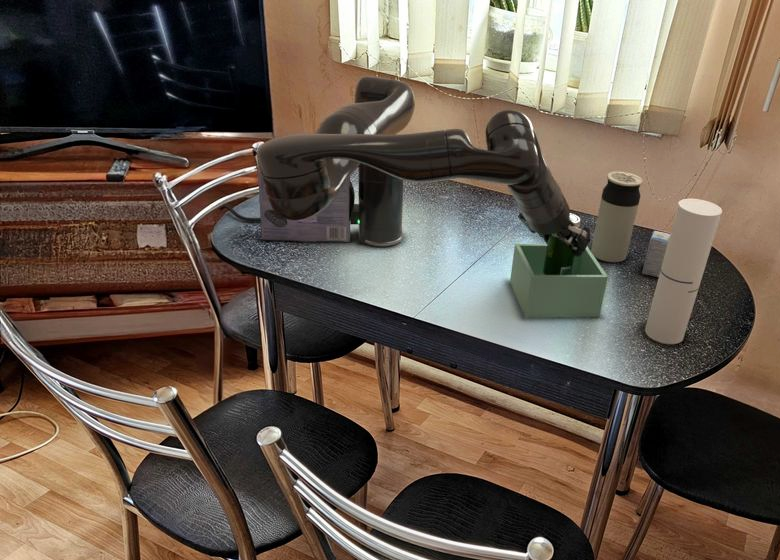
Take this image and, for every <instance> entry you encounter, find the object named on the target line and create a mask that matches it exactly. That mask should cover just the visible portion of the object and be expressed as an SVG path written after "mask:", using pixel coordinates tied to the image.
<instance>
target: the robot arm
mask: <svg viewBox="0 0 780 560" xmlns="http://www.w3.org/2000/svg"><path fill="white" fill-rule="evenodd" d="M415 107H416V98H415V93H414V91H413V89H412V87H411V86H410V84H408V83H406V82H404V81H402V80H398V79H394V78H393V79H392V78H387V77H379V76H373V75H364V76H362V77H360V79H359V80H358V81H357V84H356V86H355V91H354V103H350V104H345V105H344V106H341V107H339V108H337V109H335V110H334V111H333V112H332V113H329V115H327V116H326V117H325V118H323V120H322V121H321V122H320V123H319V125H318V127H317V128H316V131H315V133H296V134H287V135H282V136H277V137H273V138H270V139H269V140H267V141H264V142H263V143H261V144H260V145H259V146H258V148H257V149H256V161H257V160H258V164H259V168H260V171H261V175H262V179H263V182H264V186H265V189H266V193H267V197H268V200H269V203H270V205H271V207H272V208H273V210H274V212H275V213H276V214H277V215H278V216H280V217H282V218H284V219H287V220H302V219H306V218H309V217H312V216H314V215H316V214H318V213H319V212H321V211H322V210H324V209H325V208H326V207H327V206H329V205H330V203H331V202H332V201H333V200H334V198H335V197H336V195H337V194H338V192H339V191H340V189H341V188H342V186H343V185H344V183H345V182H346V180H347V179H348V178H349V177H350V178H351V176H352V175H353V173H354V172H355V171H356V170H357V169H358V171H357V172H358V173H357V174H358V191H357V199H358V200H357V202H358V203H354V209H353V212H352V215H351V217H350V226H351V225H355V226H356V225H358V240H359V244H365V245H368V246H373V247H391V246H395V245H398V244H399V243H401V242H402V240H403V211H404V209H403V205H404V182H409V183H417V184H423V183H424V184H425V183H433V182H442V181H451V180H457V179H461V180H463V179H464V180H470V181H476V182H485V183H491V184H497V185H506V186H507V189H508V190H509V192H510V193H511V196H512V197H513V198H514V200H515V203H516V206H517V208H518V210H519V211H520V212H519V213H518V215H517V217H518V219H519V220H520V221H521V222H522V224H523V225H524V226H525V227H526V229H528V231H529V232H530V233H531V234H538V236H539V238H542V239H543V241H544V242H545V244H548V238H549V234H552V235H553V236H554V237H557V238H558V239H559V240H560V241H561V242H562V243H563V244H566V245H569V246H570V247H571V250H572V252H573V253H574V255H575V256H577V257H579V256H580V255H582V253H583V252H584V251H585V249H586V247H588V245H589V243H591V240H592V239H591V230H590V229H591V228H589V227H588V226H583V227H580V229H579V228H577V227H575V224H574V223H573V222H572V221H571V220H570V213H571V209H570V205H569V203H568V201H567V199H566V197H565V195H564V192H563V191H562V189H561V186H560V184H559V183H558V181H557V180H556V179H555V177H554V175H553V174H552V171H551V170H550V168H549V166H548V164H547V162H546V161H545V158H544V156H543V153H542V149H541V145H540V143H539V139H538V136H537V133H536V130H535V128H534V125H533V123H532V121H531V120H530V119H529V117H527V116H526V114H524V113H523V112H521V111H519V110H516V109H503V110H502V109H501V110H499V111H498V112H496V113H494V114H493V115H492V116H491V117H490V118H489V119H488V121H487V123H486V126H485V134H484V135H485V142H486V147H487V148H486V149H483V148H479V147H476V146H475V145H474V144H473V143H472V141H471V140H470V137H469V135H468V133H467V132H466V131H465V130H464V129H462V128H446V129H439V130H430V131H429V130H428V131H422V132H414V133H413V132H412V133H402V134H401V133H400V132H403V130H405V128H406V127H408V125H409V124H410V122H411V120H412V118H413V115H414V112H415ZM224 209H227V210H228V211H229V212H230V213H231V214H232V215H234V216H235V218H238V219H239V220H241V221H246V222H261V218H260V217H246V216H243V215H241V214H240V213H238V212H237V211H236V210H235V209H234V208H233V207H231V206H230V205H228V204H222V205H221V206H219V208H218V210H219V211H222V210H224ZM564 237H565V238H564ZM574 237H575V239H574V241H573V242H572V240H573V238H574Z"/></svg>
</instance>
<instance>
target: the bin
mask: <svg viewBox="0 0 780 560" xmlns="http://www.w3.org/2000/svg"><path fill="white" fill-rule="evenodd" d="M546 250H547V243H514V248H513V254H512V263H511V271H510V279H509V284H510V286H511V287H512V288H511V289H512V290H513V292H514V296H515V297H516V300H517V302H518V304H519V307H520V309H521V311H522V314H523V316H524V318H525V319H538V318H539V319H541V318H542V319H543V318H546V319H547V318H598V317H600V315H601V310H602V306H603V301H604V297H605V292H606V288H607V284H608V278H609V276H608V274H607V273H606V271H605V270H604V269H603V267H602V266H601V264H600V263H599V261H598V259H597V258H596V257H595V256H594V255H593V254H592V253H591V249H590V248H589V246H587V247H586V249H585V251H584V252H583V253H582V255H580V256H579V257H577V256H574V261H573V266H572V272H571V275H544V273H543V268H544V262H545V256H546Z"/></svg>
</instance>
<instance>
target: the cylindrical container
mask: <svg viewBox="0 0 780 560" xmlns="http://www.w3.org/2000/svg"><path fill="white" fill-rule="evenodd" d="M722 214H723V209H722V207H720V206H719V205H717V204H716V203H714V202H711V201H707V200H705V199H701V198H700V199H699V198H683V199H680V200H679V201H678V203H677V207H676V210H675V214H674V219H673V222H672V226H671V231H670V233H669V234H670V237H669V241H668V245H667V248H666V252H665V256H664V260H663V263H662V267H661V271H660V275H659V277H657V278H658V279H657V283H656V286H655V290H654V294H653V298H652V302H651V305H650V309H649V313H648V317H647V321H646V324H645V328H644V333H645V334H646V335H647V336H648V338H650V339H651V340H653V341H655V342H658V343H661V344H664V345H676V344H679V343H680V344H681V342H683V341H684V338H685V334H686V332H687V328H688V325H689V322H690V319H691V316H692V311H693V309H694V305H695V303H696V299H697V295H698V291H699V289H700V286H701V282H702V279H703V276H704V272H705V270H706V266H707V263H708V259H709V256H710V252H711V249H712V246H713V243H714V240H715V237H716V234H717V230H718V227H719V224H720V220H721V216H722Z"/></svg>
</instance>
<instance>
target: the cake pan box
mask: <svg viewBox="0 0 780 560" xmlns="http://www.w3.org/2000/svg"><path fill="white" fill-rule="evenodd" d="M256 165H257V180H258V181H257V182H258V201H259V214H260V215H259V216H260V217H259V218H261V221H260V235H261V236H260V237H261V239H262V241H290V242H291V241H292V242H307V243H308V242H310V243H311V242H312V243H313V242H314V243H316V242H317V243H318V242H343V243H350V242H351V224H350V217H351V215H352V212H353V209H354V204H355V200H356V199H355V198H356V195H355V194H356V193H355V188H354V186H353V183H352V181H351V176H350V177H349V178H348V179H347V180H346V182H345V183H344V185H343V186H342V188H341V189H340V191H339V192H338V194H337V195H336V197H335V198H334V200H333V201H332V202H331V203H330V205H329V206H327V207H326V208H325V209H324V210H322V211H321V212H319V213H318V214H316V215H314V216H312V217H309V218H306V219H302V220H287V219H284V218H282V217H280V216H278V215H277V214H276V213H275V212H274V210H273V208H272V207H271V205H270V203H269V200H268V197H267V193H266V189H265V186H264V182H263V179H262V175H261V171H260V168H259V164H258V160H257V159H256Z"/></svg>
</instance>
